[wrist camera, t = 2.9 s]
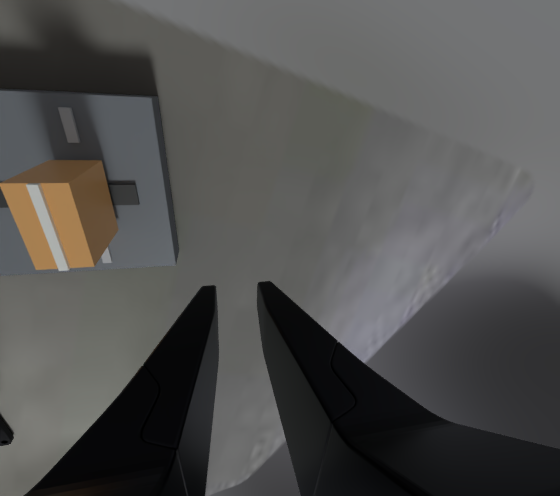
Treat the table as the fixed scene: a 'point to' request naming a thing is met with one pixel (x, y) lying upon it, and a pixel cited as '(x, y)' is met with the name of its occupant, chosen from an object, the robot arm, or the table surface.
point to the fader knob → (62, 212)
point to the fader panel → (93, 146)
